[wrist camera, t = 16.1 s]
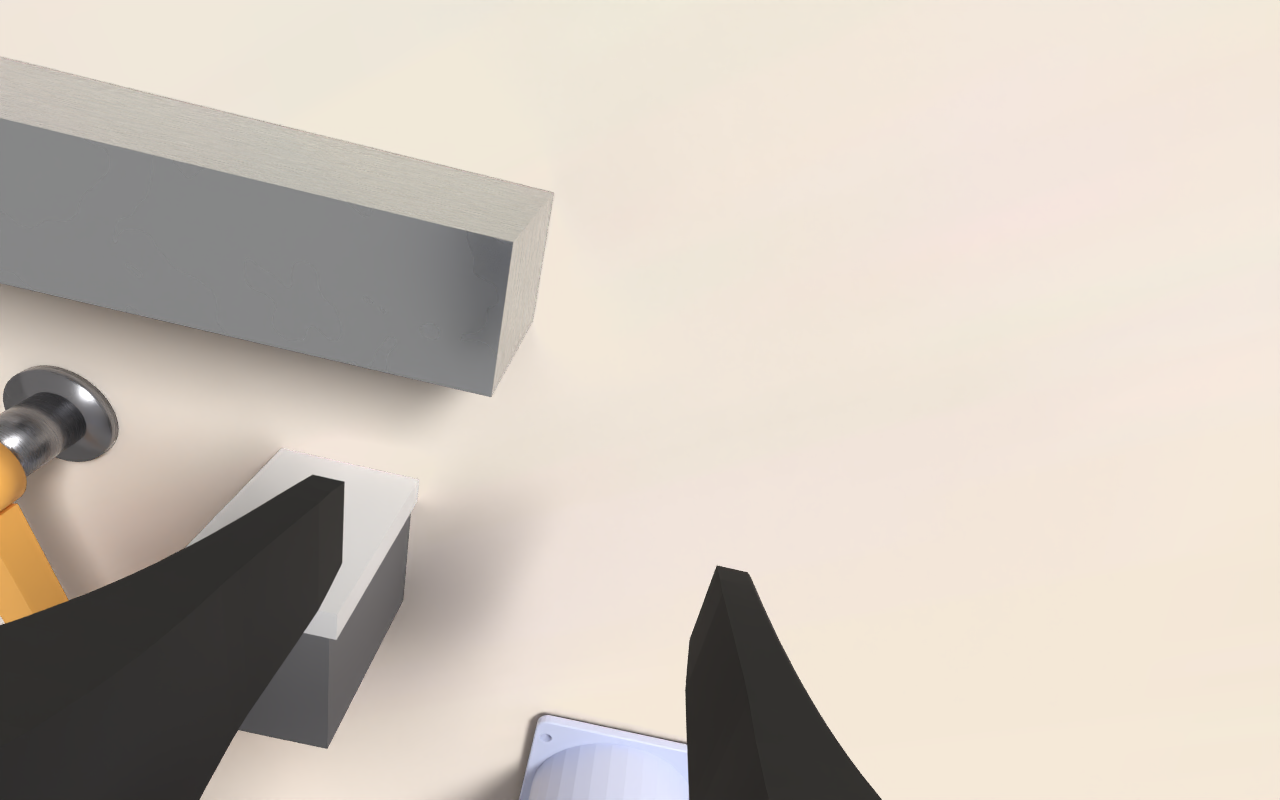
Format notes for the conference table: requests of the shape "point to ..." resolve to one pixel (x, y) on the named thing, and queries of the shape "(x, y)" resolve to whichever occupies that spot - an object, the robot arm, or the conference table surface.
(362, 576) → the plug
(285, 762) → the conference table surface
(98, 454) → the lever handle base
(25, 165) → the socket
